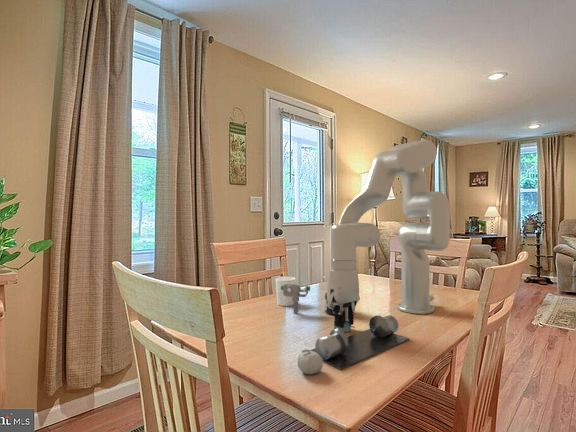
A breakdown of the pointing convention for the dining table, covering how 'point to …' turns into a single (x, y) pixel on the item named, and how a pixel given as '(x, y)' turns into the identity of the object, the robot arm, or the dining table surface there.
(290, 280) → the white cup
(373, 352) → the plate with silver knobs
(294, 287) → the mechanical component
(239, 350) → the dining table surface
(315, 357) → the garlic
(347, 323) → the push button
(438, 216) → the robot arm
